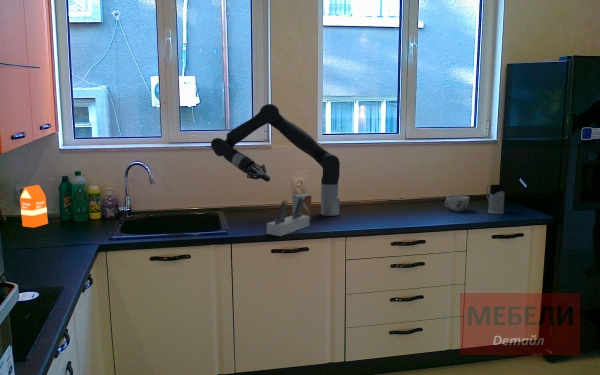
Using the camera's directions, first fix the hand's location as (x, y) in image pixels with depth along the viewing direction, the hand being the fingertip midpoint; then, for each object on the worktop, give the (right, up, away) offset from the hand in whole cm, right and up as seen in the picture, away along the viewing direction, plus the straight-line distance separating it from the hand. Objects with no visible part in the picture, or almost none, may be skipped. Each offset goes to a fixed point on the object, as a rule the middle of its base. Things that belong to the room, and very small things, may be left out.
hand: (269, 179), depth 254 cm
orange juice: (-119, -23, +11) cm, 122 cm away
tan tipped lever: (+6, -19, -7) cm, 21 cm away
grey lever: (+13, -18, +5) cm, 23 cm away
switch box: (+10, -24, 0) cm, 26 cm away
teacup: (+103, -17, +41) cm, 112 cm away
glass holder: (+124, -17, +40) cm, 131 cm away
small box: (+16, -21, +21) cm, 34 cm away
